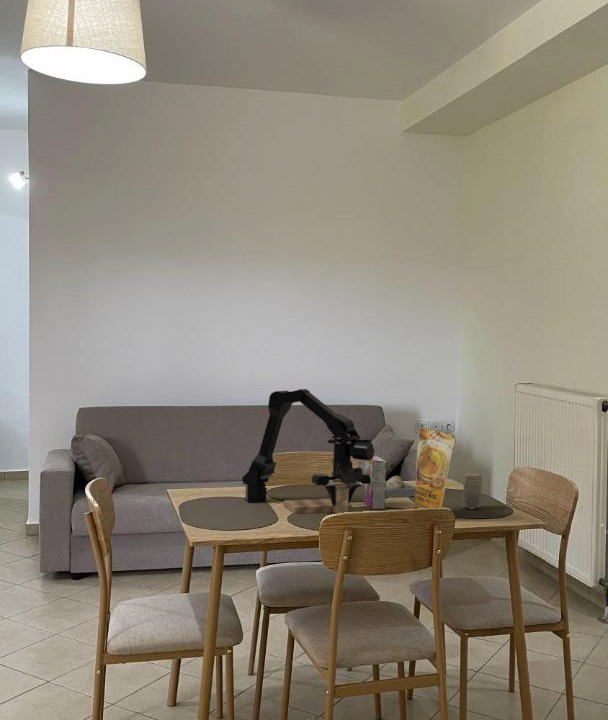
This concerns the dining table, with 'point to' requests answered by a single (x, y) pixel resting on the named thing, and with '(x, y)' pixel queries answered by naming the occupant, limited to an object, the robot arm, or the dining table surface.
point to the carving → (472, 490)
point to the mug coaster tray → (401, 491)
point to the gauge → (341, 500)
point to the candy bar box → (375, 483)
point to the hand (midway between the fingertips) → (340, 505)
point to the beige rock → (395, 483)
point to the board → (310, 506)
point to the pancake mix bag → (432, 466)
